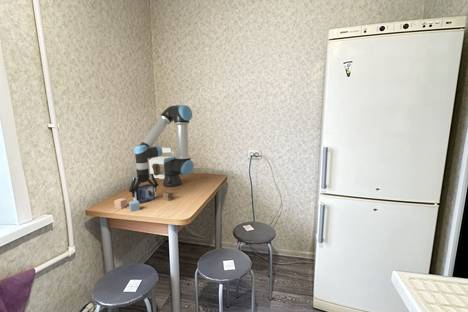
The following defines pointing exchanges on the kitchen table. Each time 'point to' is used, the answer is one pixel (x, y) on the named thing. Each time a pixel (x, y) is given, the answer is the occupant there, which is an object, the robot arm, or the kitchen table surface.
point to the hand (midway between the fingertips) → (145, 198)
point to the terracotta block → (120, 203)
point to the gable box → (159, 160)
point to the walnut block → (168, 196)
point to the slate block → (134, 206)
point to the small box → (145, 193)
